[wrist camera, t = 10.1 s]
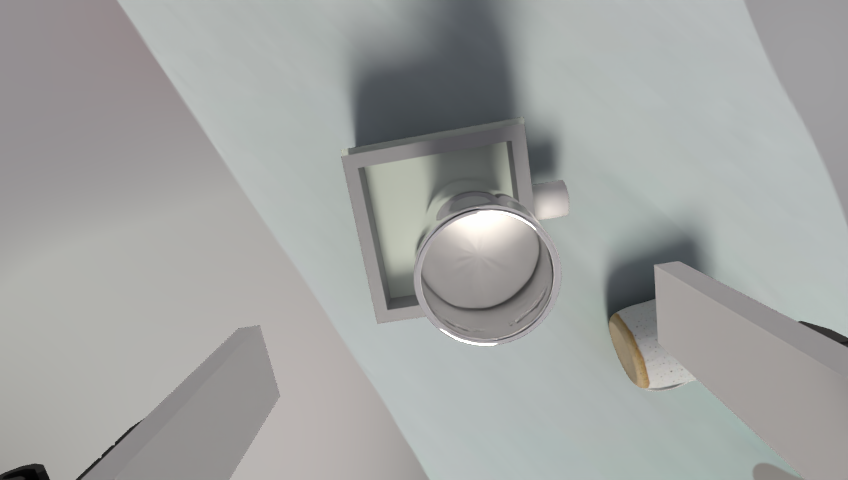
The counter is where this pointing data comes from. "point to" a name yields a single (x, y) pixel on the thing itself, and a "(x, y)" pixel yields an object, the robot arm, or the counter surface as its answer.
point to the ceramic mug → (645, 349)
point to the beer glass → (483, 265)
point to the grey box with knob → (416, 186)
